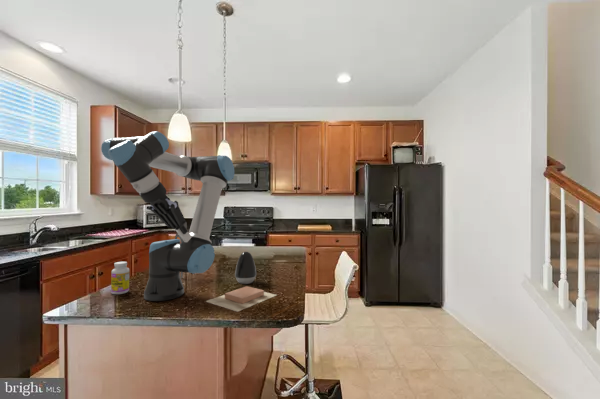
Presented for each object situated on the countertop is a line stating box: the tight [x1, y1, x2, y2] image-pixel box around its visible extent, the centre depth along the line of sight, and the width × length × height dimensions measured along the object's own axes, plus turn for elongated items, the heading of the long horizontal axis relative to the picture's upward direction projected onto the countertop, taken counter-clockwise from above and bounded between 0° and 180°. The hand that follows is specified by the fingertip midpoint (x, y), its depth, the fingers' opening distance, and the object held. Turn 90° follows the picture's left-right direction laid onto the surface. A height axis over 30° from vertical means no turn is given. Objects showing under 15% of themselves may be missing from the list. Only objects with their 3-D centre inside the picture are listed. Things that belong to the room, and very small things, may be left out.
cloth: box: [205, 291, 277, 313], centre depth 113 cm, size 22×18×1 cm
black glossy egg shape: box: [234, 251, 257, 285], centre depth 137 cm, size 10×10×15 cm
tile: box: [224, 285, 265, 304], centre depth 114 cm, size 2×10×12 cm
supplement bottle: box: [110, 261, 130, 295], centre depth 122 cm, size 7×7×13 cm
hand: (188, 239), depth 103 cm, fingers closed
